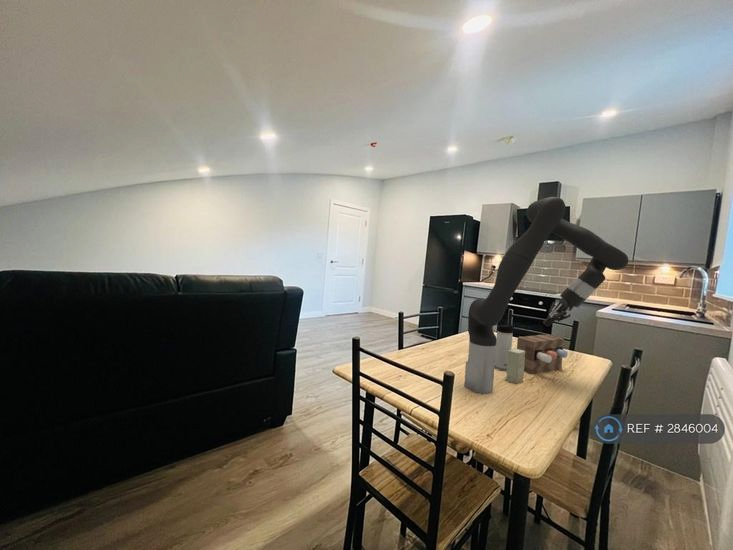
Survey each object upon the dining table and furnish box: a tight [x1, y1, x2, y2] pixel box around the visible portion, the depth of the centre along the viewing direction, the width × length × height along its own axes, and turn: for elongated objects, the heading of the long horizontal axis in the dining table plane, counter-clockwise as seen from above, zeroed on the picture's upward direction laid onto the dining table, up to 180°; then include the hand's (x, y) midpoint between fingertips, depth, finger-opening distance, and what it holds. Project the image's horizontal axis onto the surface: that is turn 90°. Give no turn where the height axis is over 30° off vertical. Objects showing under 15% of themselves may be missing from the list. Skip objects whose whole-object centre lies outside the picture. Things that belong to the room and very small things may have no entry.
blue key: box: [556, 348, 569, 359], centre depth 130 cm, size 3×4×3 cm
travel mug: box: [494, 324, 515, 372], centre depth 128 cm, size 6×7×20 cm
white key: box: [537, 352, 552, 363], centre depth 122 cm, size 3×4×3 cm
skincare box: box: [505, 347, 525, 384], centre depth 116 cm, size 6×4×12 cm
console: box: [516, 333, 565, 375], centre depth 131 cm, size 20×8×14 cm, turn 114°
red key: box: [545, 349, 557, 360], centre depth 127 cm, size 3×4×3 cm
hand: (545, 324), depth 119 cm, fingers closed
